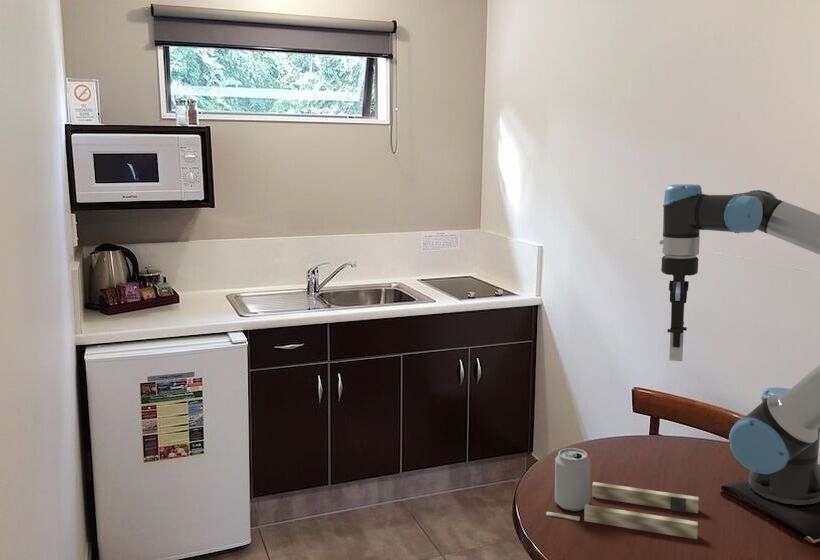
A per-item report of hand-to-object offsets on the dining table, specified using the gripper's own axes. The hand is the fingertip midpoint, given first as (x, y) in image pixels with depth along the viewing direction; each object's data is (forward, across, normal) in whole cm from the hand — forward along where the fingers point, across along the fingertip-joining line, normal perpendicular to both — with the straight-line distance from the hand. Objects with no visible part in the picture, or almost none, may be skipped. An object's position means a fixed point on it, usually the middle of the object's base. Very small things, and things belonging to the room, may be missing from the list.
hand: (675, 359), depth 163 cm
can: (+30, +18, -20) cm, 40 cm away
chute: (+29, +18, -9) cm, 36 cm away
